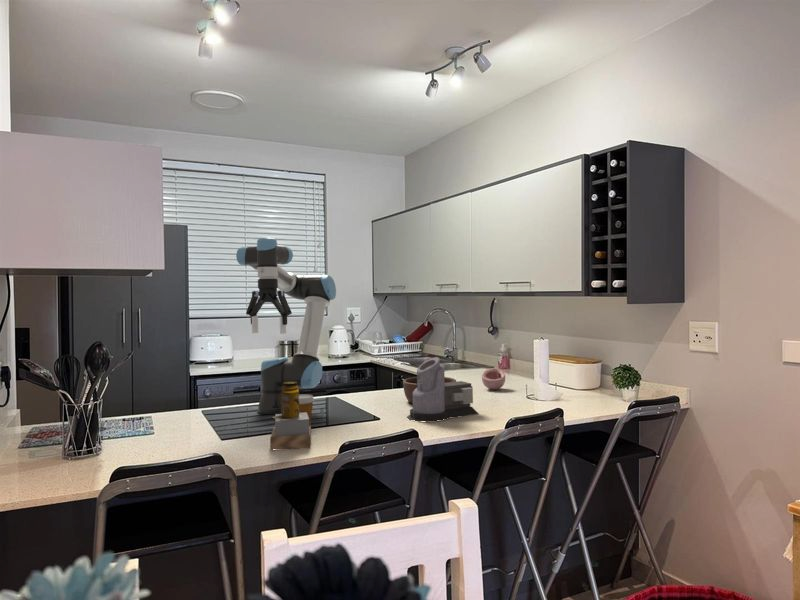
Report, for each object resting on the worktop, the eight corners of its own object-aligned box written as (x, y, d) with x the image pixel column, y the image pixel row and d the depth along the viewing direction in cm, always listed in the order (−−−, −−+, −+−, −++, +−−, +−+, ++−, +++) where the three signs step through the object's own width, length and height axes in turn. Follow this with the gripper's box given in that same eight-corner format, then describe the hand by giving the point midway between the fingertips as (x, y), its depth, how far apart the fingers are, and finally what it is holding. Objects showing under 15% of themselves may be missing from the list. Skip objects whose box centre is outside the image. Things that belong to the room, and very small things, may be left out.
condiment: (304, 416, 190) (304, 382, 190) (284, 421, 184) (283, 385, 184) (291, 413, 195) (291, 379, 195) (271, 418, 189) (270, 383, 189)
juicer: (419, 424, 215) (418, 361, 215) (400, 416, 230) (399, 357, 229) (482, 415, 229) (481, 356, 229) (460, 408, 243) (459, 352, 243)
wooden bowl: (422, 394, 276) (422, 374, 275) (466, 400, 261) (466, 378, 261) (392, 403, 255) (392, 381, 255) (438, 409, 241) (438, 386, 240)
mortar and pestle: (481, 391, 281) (481, 369, 281) (482, 387, 293) (482, 366, 292) (505, 392, 279) (505, 369, 279) (505, 387, 291) (504, 366, 290)
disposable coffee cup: (305, 423, 220) (304, 393, 220) (319, 427, 213) (318, 396, 213) (284, 427, 213) (284, 396, 213) (298, 431, 207) (298, 399, 206)
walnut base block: (270, 452, 183) (270, 437, 183) (274, 441, 196) (273, 427, 196) (310, 450, 185) (310, 435, 185) (311, 439, 198) (310, 425, 197)
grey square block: (276, 436, 184) (275, 421, 184) (275, 428, 195) (275, 414, 194) (309, 433, 186) (309, 419, 186) (307, 426, 197) (306, 412, 197)
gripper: (236, 279, 215) (237, 333, 215) (287, 277, 204) (289, 334, 204) (249, 279, 221) (250, 331, 222) (299, 277, 210) (301, 333, 211)
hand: (268, 333), depth 213 cm, fingers open, 13 cm apart
